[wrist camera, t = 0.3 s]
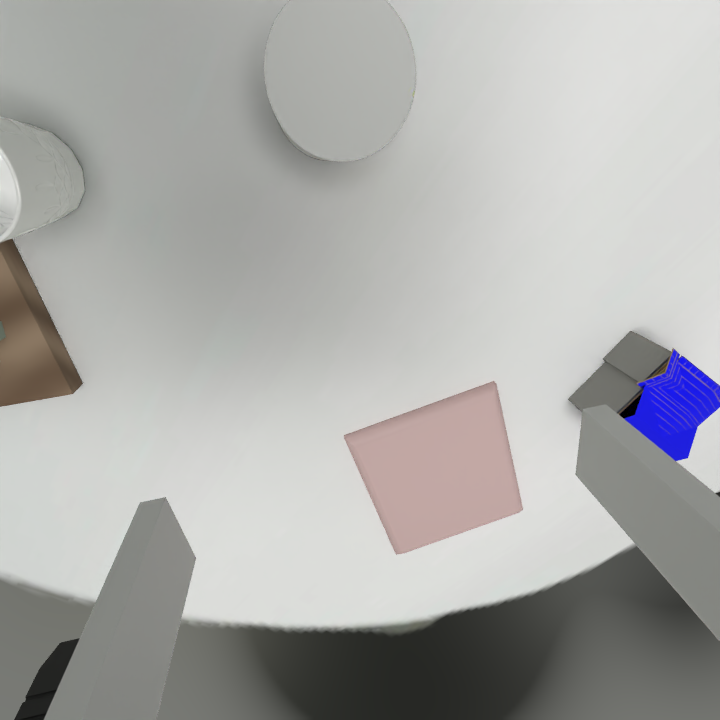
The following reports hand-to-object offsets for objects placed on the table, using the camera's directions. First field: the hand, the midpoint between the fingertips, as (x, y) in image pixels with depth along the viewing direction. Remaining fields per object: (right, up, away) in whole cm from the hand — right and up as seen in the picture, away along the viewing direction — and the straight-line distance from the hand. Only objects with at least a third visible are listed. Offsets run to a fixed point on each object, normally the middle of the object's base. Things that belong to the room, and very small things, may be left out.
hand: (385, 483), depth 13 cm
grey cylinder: (-3, +24, +20) cm, 32 cm away
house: (+30, +1, +36) cm, 47 cm away
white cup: (-26, +18, +19) cm, 37 cm away
